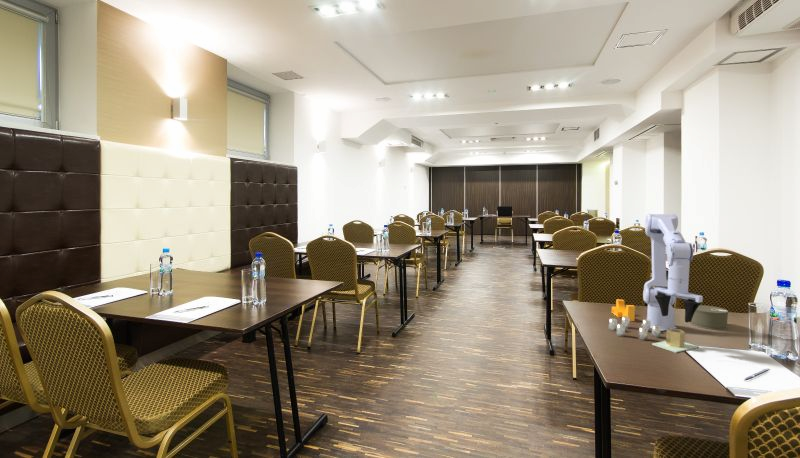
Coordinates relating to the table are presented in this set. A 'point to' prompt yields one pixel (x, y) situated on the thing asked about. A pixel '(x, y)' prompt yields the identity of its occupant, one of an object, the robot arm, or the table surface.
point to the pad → (674, 349)
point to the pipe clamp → (624, 310)
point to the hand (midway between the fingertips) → (676, 318)
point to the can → (710, 318)
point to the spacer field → (642, 330)
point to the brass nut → (675, 337)
